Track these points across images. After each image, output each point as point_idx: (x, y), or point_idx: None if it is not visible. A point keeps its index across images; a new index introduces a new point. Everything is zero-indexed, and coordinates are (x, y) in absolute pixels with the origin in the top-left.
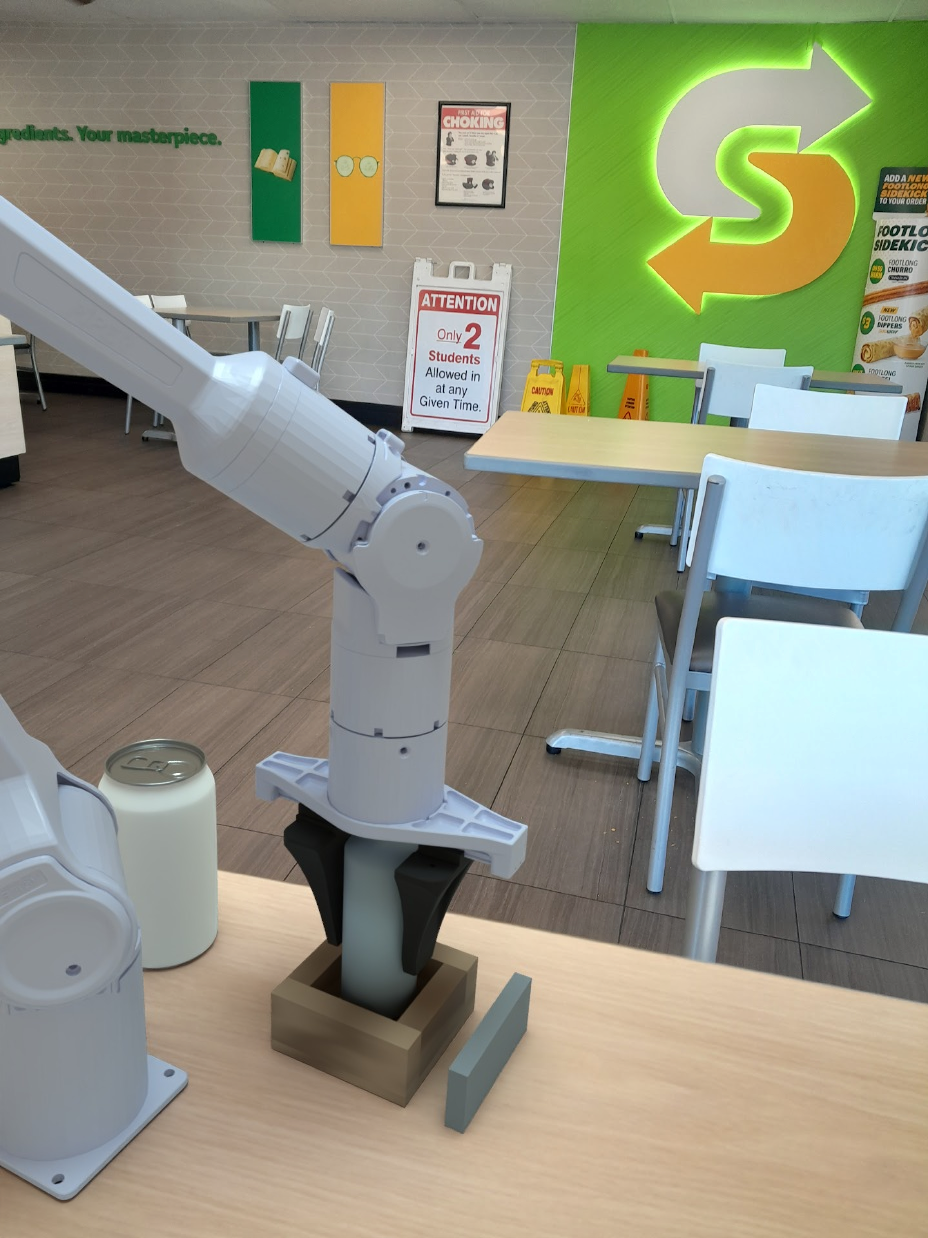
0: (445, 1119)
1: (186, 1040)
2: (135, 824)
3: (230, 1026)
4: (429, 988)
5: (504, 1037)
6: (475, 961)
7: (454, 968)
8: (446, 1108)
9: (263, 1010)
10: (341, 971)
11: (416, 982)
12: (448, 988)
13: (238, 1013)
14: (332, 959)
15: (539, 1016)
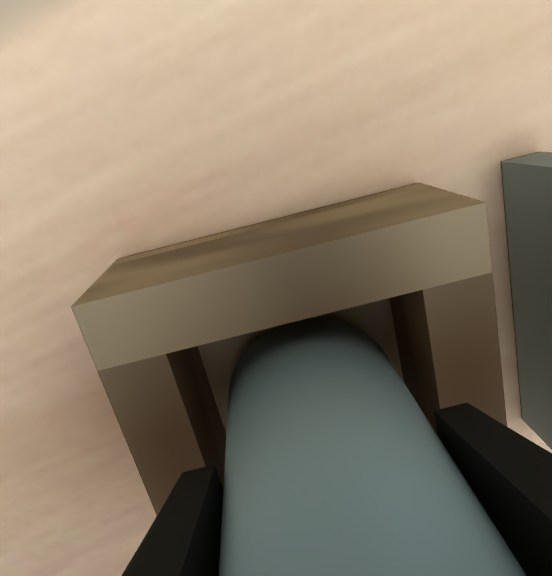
0: (531, 427)
1: (93, 565)
2: None
3: (112, 509)
4: (448, 381)
5: None
6: (487, 221)
7: (457, 286)
8: (544, 440)
9: (115, 455)
10: (201, 409)
11: (393, 366)
12: (485, 350)
13: (93, 486)
14: (198, 467)
15: (541, 89)
